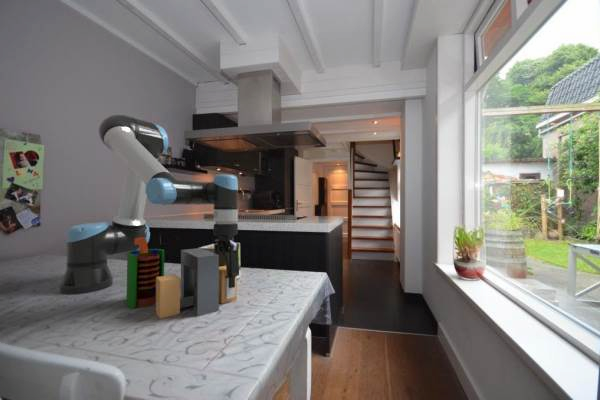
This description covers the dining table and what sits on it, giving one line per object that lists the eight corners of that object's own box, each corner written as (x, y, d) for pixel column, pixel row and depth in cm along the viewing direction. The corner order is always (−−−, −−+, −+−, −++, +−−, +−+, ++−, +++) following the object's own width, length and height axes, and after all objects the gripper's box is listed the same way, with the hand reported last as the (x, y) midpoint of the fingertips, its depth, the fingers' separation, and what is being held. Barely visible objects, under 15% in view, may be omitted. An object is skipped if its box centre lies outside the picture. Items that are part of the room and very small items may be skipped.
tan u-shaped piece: (155, 312, 75) (155, 276, 75) (228, 295, 89) (228, 265, 89) (160, 319, 70) (160, 281, 71) (236, 300, 85) (236, 268, 85)
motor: (143, 309, 77) (144, 240, 77) (117, 307, 79) (118, 239, 79) (167, 297, 87) (168, 236, 87) (144, 295, 89) (144, 235, 89)
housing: (180, 301, 84) (181, 250, 84) (199, 296, 88) (200, 248, 88) (197, 316, 72) (197, 257, 72) (218, 310, 76) (218, 254, 76)
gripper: (203, 221, 91) (202, 289, 90) (228, 225, 76) (227, 306, 76) (224, 220, 96) (223, 285, 95) (251, 223, 81) (251, 300, 80)
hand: (225, 294), depth 85 cm, fingers open, 6 cm apart
